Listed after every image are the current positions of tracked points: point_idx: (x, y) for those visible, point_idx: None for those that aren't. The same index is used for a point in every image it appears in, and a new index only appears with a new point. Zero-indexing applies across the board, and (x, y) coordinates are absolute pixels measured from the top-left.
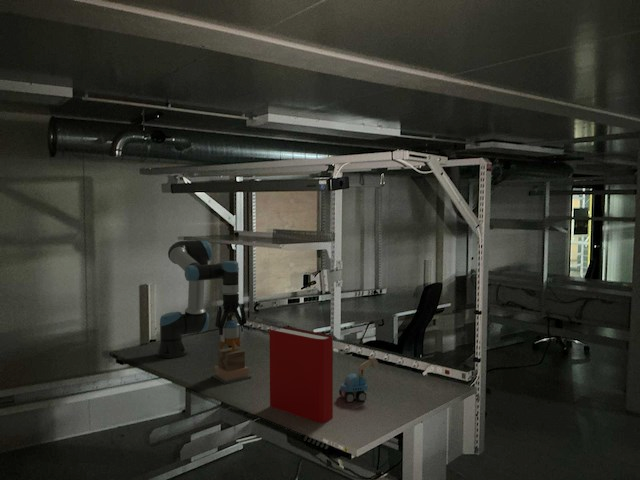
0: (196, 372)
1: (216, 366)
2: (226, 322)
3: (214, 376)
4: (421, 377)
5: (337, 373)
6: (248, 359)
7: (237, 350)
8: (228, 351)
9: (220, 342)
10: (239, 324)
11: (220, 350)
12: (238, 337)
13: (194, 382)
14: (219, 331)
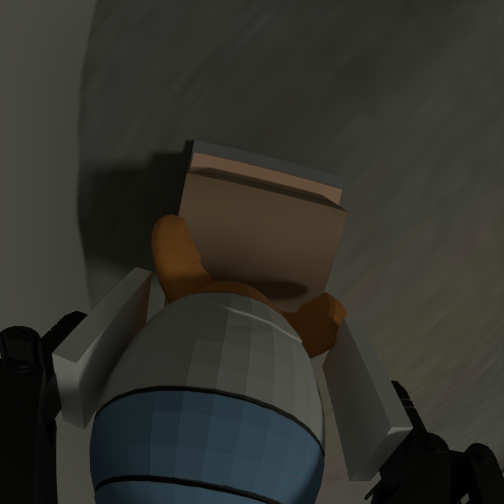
0: (188, 35)
1: (198, 163)
2: (100, 497)
3: (189, 168)
4: (467, 499)
5: (461, 436)
6: (482, 96)
7: (282, 310)
8: (214, 278)
9: (152, 239)
10: (401, 454)
11: (188, 202)
12: (338, 341)
13: (94, 155)
14: (48, 342)
